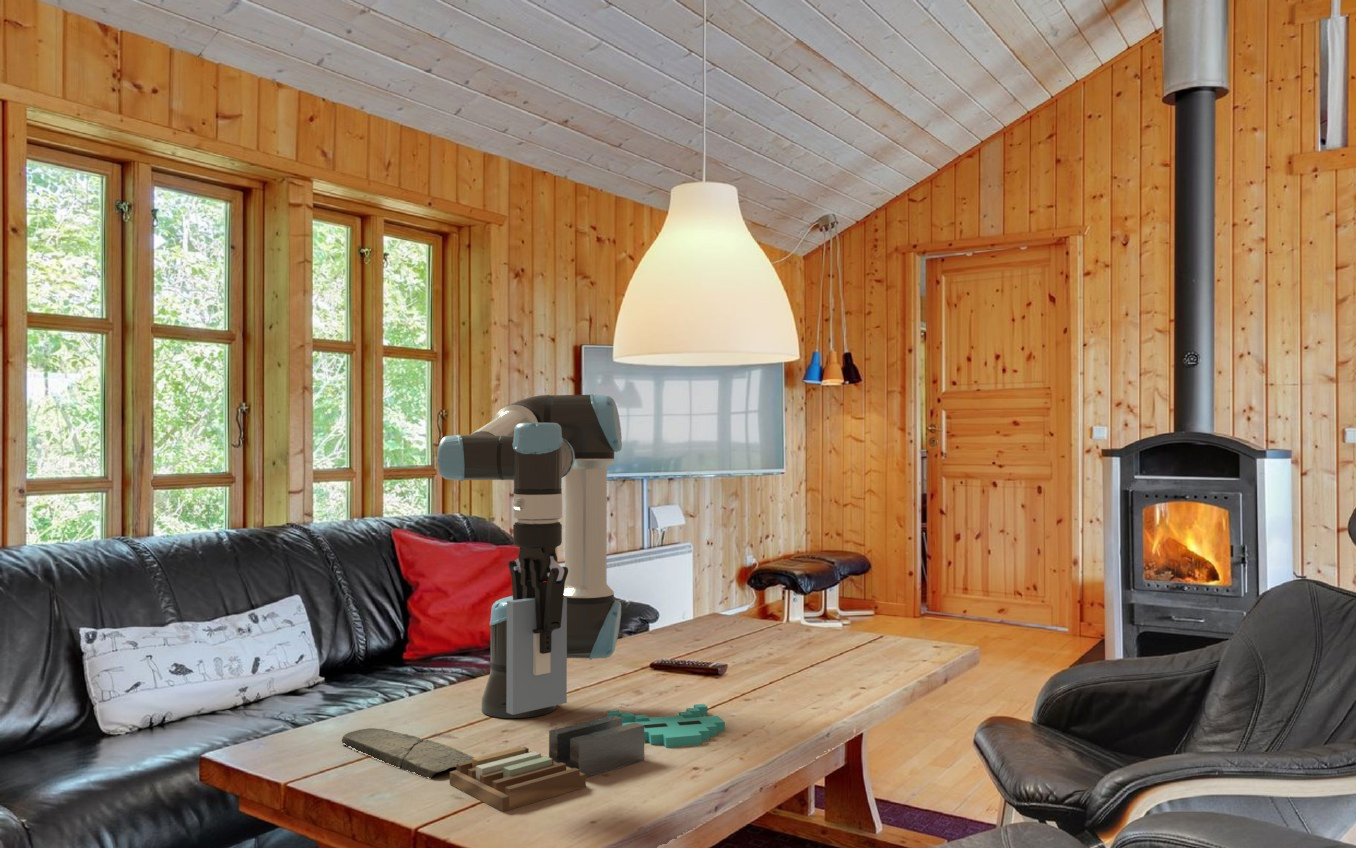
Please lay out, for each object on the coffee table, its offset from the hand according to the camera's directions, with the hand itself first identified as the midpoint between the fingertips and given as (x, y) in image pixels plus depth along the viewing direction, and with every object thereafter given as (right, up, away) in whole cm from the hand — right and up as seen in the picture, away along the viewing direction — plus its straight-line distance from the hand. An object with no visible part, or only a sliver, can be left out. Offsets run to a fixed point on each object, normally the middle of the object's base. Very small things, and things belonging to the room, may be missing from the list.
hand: (537, 672), depth 151 cm
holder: (+8, -19, +14) cm, 25 cm away
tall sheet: (0, -6, 0) cm, 6 cm away
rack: (-4, -19, +3) cm, 20 cm away
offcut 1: (-7, -19, +7) cm, 22 cm away
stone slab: (-26, -20, +19) cm, 38 cm away
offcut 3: (-2, -19, +3) cm, 19 cm away
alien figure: (+20, -20, +34) cm, 44 cm away
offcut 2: (-5, -19, +4) cm, 21 cm away
